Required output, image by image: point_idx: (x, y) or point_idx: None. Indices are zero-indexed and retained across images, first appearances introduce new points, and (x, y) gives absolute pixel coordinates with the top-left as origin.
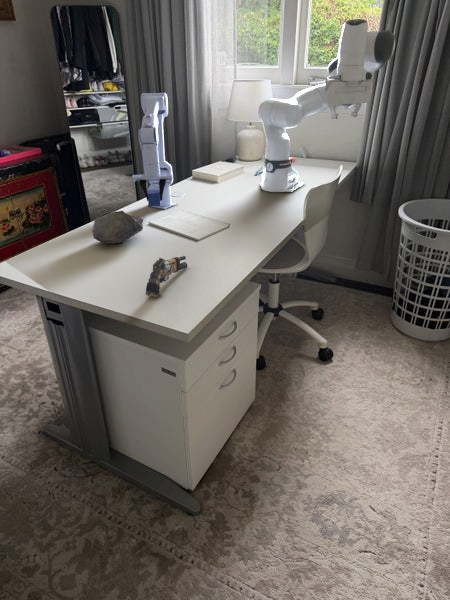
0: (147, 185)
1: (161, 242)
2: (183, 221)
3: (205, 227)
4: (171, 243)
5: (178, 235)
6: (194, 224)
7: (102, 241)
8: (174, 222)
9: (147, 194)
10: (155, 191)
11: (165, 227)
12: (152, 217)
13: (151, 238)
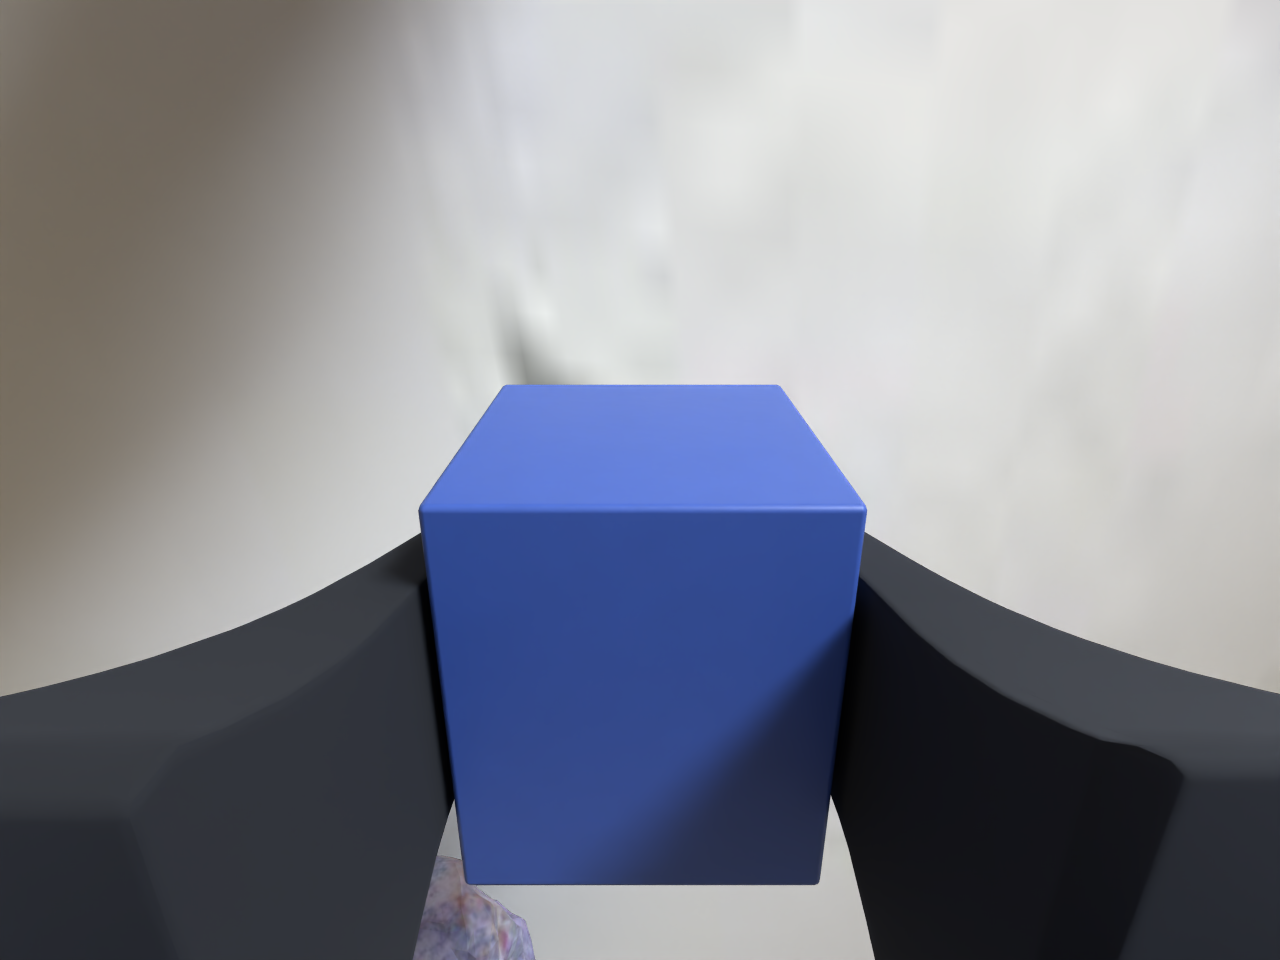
0: (344, 808)
1: (732, 907)
2: (1024, 345)
3: (1264, 587)
4: (825, 929)
5: None
6: (1154, 476)
7: None
8: (888, 377)
9: (470, 868)
10: (689, 715)
11: None
12: (526, 102)
13: None
